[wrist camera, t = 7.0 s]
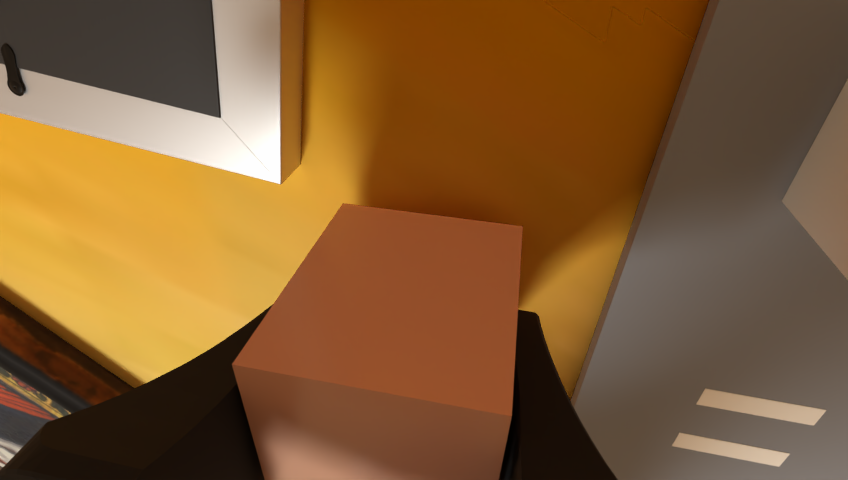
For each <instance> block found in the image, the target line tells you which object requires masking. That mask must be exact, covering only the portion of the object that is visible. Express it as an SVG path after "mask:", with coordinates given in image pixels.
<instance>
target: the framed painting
mask: <svg viewBox="0 0 848 480" xmlns="http://www.w3.org/2000/svg"><path fill="white" fill-rule="evenodd" d="M133 389H134V388H133V387H131V386H130V385H128V384H127V383H126V382H124V381H123V380H121V379H120V378H118V377H117V376H116V375H114V374H113V373H111V372H110V371H108V370H107V369H105V368H104V367H102V366H101V365H99V364H98V363H97V362H95V361H94V360H92V359H91V358H89V357H88V356H86V355H85V354H83V353H82V352H81V351H79V350H78V349H76V348H75V347H73V346H72V345H70V344H69V343H67V342H66V341H65V340H63V339H62V338H60V337H59V336H57V335H56V334H54V333H53V332H51V331H50V330H49V329H47V328H46V327H44V326H43V325H41V324H40V323H38V322H37V321H35V320H34V319H33V318H31V317H30V316H28V315H27V314H25V313H24V312H22V311H21V310H19V309H18V308H17V307H15V306H14V305H12V304H11V303H9V302H8V301H6V300H5V299H4V298H2V297H1V296H0V470H1V469H2V468H3V467H4V466H5V465H6V464H7V463H8V462H9V461H10V460H11V458H12V457H13V456H14V455H15V454H16V453H17V452H18V451H19V450H20V449H21V448H22V447H23V446H24V445H25V444H26V443H27V442H28V441H29V440H30V439H31V438H32V437H33V436H34V435H35V434H36V433H37V432H38V430H39V429H40V428H41V427H42V426H43V425H44V424H46V423H47V422H49V421H52V420H55V419H58V418H60V417H63V416H66V415H69V414H72V413H74V412H77V411H80V410H83V409H85V408H88V407H91V406H94V405H96V404H99V403H101V402H104V401H107V400H109V399H111V398H114V397H116V396H119V395H121V394H123V393H126V392H128V391H130V390H133Z"/></svg>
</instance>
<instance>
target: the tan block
mask: <svg viewBox="0 0 848 480" xmlns="http://www.w3.org/2000/svg"><path fill="white" fill-rule="evenodd" d="M782 202H783V203H784V205H785V206H786V207H787V208H788V209H789V211H790V212H791V213H792V214H793V215H794V217H795V218H796V219H797V220H798V221H799V223H800V224H801V225H802V226H803V227H804V229H805V230H806V231H807V232H808V233H809V235H810V236H811V237H812V238H813V239H814V240H815V242H816V243H817V244H818V245H819V246H820V248H821V249H822V250H823V251H824V252H825V254H826V255H827V256H828V257H829V258H830V260H831V261H832V262H833V263H834V264H835V266H836V267H837V268H838V269H839V270H840V272H841V273H842V274H843V275H844V276H845V277H846V279H847V280H848V79H847V81H846V83H845V85H844V87H843V89H842V90H841V92H840V94H839V96H838V98H837V100H836V102H835V103H834V105H833V107H832V109H831V111H830V113H829V114H828V116H827V118H826V120H825V122H824V124H823V126H822V127H821V129H820V131H819V133H818V135H817V137H816V139H815V140H814V142H813V144H812V146H811V148H810V150H809V152H808V153H807V155H806V157H805V159H804V161H803V163H802V165H801V166H800V168H799V170H798V172H797V174H796V176H795V178H794V179H793V181H792V183H791V185H790V187H789V189H788V191H787V192H786V194H785V196H784V198H783V200H782Z"/></svg>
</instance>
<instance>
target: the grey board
mask: <svg viewBox="0 0 848 480" xmlns="http://www.w3.org/2000/svg"><path fill="white" fill-rule="evenodd" d="M847 79H848V0H709V3H708V6H707V9H706V12H705V15H704V18H703V21H702V23H701V26H700V29H699V32H698V35H697V38H696V41H695V44H694V47H693V49H692V52H691V55H690V58H689V61H688V64H687V67H686V70H685V72H684V75H683V78H682V81H681V84H680V87H679V90H678V93H677V96H676V98H675V101H674V104H673V107H672V110H671V113H670V116H669V119H668V122H667V124H666V127H665V130H664V133H663V136H662V139H661V142H660V145H659V147H658V150H657V153H656V156H655V159H654V162H653V165H652V168H651V171H650V173H649V176H648V179H647V182H646V185H645V188H644V191H643V194H642V196H641V199H640V202H639V205H638V208H637V211H636V214H635V217H634V220H633V222H632V225H631V228H630V231H629V234H628V237H627V240H626V243H625V245H624V248H623V251H622V254H621V257H620V260H619V263H618V266H617V269H616V271H615V274H614V277H613V280H612V283H611V286H610V289H609V292H608V294H607V297H606V300H605V303H604V306H603V309H602V312H601V315H600V318H599V320H598V323H597V326H596V329H595V332H594V335H593V338H592V341H591V343H590V346H589V349H588V352H587V355H586V358H585V361H584V364H583V367H582V369H581V372H580V375H579V378H578V381H577V384H576V387H575V390H574V393H573V395H572V398H571V403H572V405H573V407H574V409H575V411H576V413H577V415H578V417H579V419H580V420H581V422H582V424H583V426H584V428H585V429H586V431H587V433H588V434H589V436H590V438H591V440H592V441H593V443H594V445H595V446H596V448H597V449H598V451H599V452H600V454H601V456H602V457H603V459H604V460H605V462H606V463H607V465H608V466H609V468H610V469H611V471H612V472H613V473H614V475H615V476H616V478H617V479H618V480H848V280H847V279H846V277H845V276H844V275H843V274H842V273H841V272H840V270H839V269H838V268H837V267H836V266H835V264H834V263H833V262H832V261H831V260H830V258H829V257H828V256H827V255H826V254H825V252H824V251H823V250H822V249H821V248H820V246H819V245H818V244H817V243H816V242H815V240H814V239H813V238H812V237H811V236H810V235H809V233H808V232H807V231H806V230H805V229H804V227H803V226H802V225H801V224H800V223H799V221H798V220H797V219H796V218H795V217H794V215H793V214H792V213H791V212H790V211H789V209H788V208H787V207H786V206H785V205H784V203H783V202H782V200H783V198H784V196H785V194H786V192H787V191H788V189H789V187H790V185H791V183H792V181H793V179H794V178H795V176H796V174H797V172H798V170H799V168H800V166H801V165H802V163H803V161H804V159H805V157H806V155H807V153H808V152H809V150H810V148H811V146H812V144H813V142H814V140H815V139H816V137H817V135H818V133H819V131H820V129H821V127H822V126H823V124H824V122H825V120H826V118H827V116H828V114H829V113H830V111H831V109H832V107H833V105H834V103H835V102H836V100H837V98H838V96H839V94H840V92H841V90H842V89H843V87H844V85H845V83H846V81H847Z"/></svg>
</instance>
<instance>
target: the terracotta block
mask: <svg viewBox="0 0 848 480" xmlns="http://www.w3.org/2000/svg"><path fill="white" fill-rule="evenodd" d="M522 232H523V226H517V225H509V224H501V223H494V222H486V221H478V220H470V219H462V218H454V217H446V216H438V215H431V214H423V213H415V212H407V211H399V210H391V209H383V208H376V207H368V206H360V205H352V204H344V203H343V204H342V206H341V207H340V209H339V210H338V211H337V213H336V214H335V216H334V217H333V219H332V220H331V222H330V223H329V224H328V226H327V227H326V229H325V230H324V232H323V233H322V235H321V236H320V237H319V239H318V240H317V242H316V243H315V245H314V246H313V248H312V249H311V251H310V252H309V253H308V255H307V256H306V258H305V259H304V261H303V262H302V264H301V265H300V266H299V268H298V269H297V271H296V272H295V274H294V275H293V277H292V278H291V280H290V281H289V282H288V284H287V285H286V287H285V288H284V290H283V291H282V293H281V294H280V295H279V297H278V298H277V300H276V301H275V303H274V304H273V306H272V307H271V309H270V310H269V311H268V313H267V314H266V316H265V317H264V319H263V320H262V322H261V323H260V324H259V326H258V327H257V329H256V330H255V332H254V333H253V335H252V336H251V338H250V339H249V340H248V342H247V343H246V345H245V346H244V348H243V349H242V351H241V352H240V353H239V355H238V356H237V358H236V359H235V361H234V362H233V364H232V367H233V370H234V374H235V377H236V381H237V384H238V388H239V391H240V395H241V398H242V402H243V405H244V409H245V412H246V416H247V419H248V423H249V426H250V430H251V433H252V437H253V440H254V444H255V447H256V451H257V454H258V458H259V461H260V465H261V468H262V472H263V476H264V479H265V480H499V476H500V471H501V466H502V461H503V456H504V452H505V447H506V442H507V437H508V432H509V427H510V423H511V418H512V404H513V387H514V370H515V353H516V336H517V318H518V301H519V284H520V267H521V250H522Z"/></svg>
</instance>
